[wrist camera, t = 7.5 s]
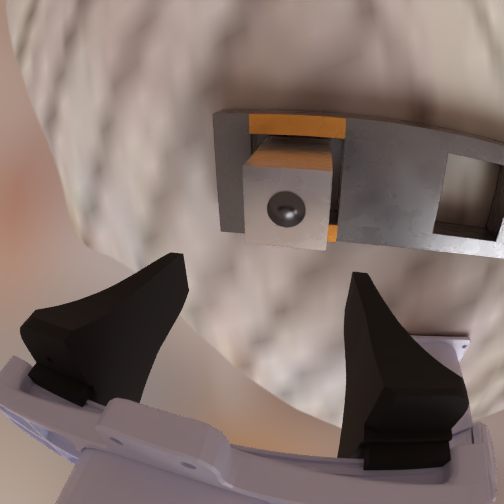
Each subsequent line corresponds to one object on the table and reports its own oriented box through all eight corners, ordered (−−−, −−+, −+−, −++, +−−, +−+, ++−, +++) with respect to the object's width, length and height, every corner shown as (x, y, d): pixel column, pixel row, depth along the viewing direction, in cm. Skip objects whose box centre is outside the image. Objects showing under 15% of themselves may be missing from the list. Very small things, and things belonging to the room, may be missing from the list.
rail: (502, 245, 19) (513, 261, 18) (228, 218, 24) (219, 232, 22) (527, 149, 15) (542, 158, 13) (222, 110, 19) (211, 114, 18)
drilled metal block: (326, 197, 21) (325, 251, 15) (268, 193, 22) (245, 243, 16) (330, 139, 19) (332, 171, 13) (268, 136, 20) (242, 166, 14)
